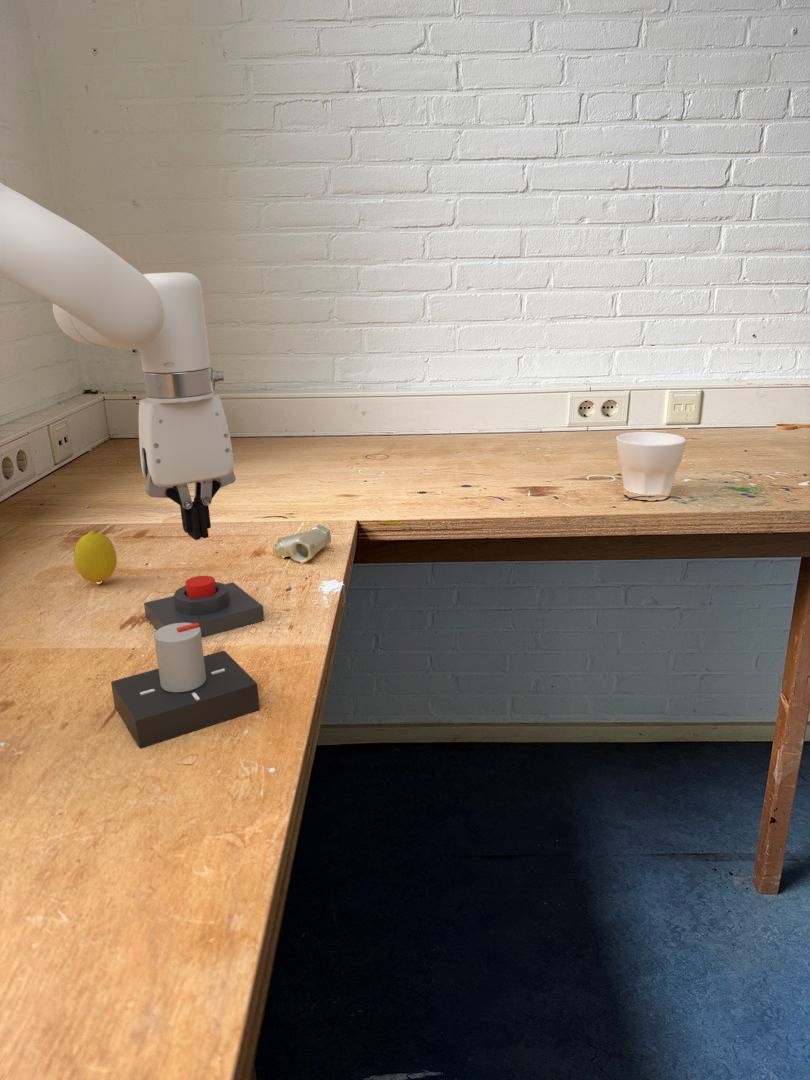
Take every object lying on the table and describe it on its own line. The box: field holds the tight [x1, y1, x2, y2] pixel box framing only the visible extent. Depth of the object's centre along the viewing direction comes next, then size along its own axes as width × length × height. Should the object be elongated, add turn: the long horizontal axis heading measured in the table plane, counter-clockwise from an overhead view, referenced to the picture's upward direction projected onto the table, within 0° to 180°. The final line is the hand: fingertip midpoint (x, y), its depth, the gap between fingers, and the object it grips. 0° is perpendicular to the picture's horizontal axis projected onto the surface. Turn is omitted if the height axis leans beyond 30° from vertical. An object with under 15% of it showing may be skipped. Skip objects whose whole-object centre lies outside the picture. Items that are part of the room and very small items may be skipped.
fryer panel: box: [110, 650, 260, 749], centre depth 80 cm, size 12×9×3 cm
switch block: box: [143, 581, 265, 639], centre depth 100 cm, size 12×10×4 cm
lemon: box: [73, 530, 118, 583], centre depth 112 cm, size 6×6×8 cm
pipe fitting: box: [272, 524, 332, 563], centre depth 123 cm, size 8×4×7 cm
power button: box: [185, 575, 216, 598], centre depth 100 cm, size 4×4×2 cm
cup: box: [615, 431, 687, 495], centre depth 150 cm, size 12×12×11 cm
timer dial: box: [153, 623, 206, 693], centre depth 79 cm, size 4×4×6 cm
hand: (198, 535), depth 98 cm, fingers closed
